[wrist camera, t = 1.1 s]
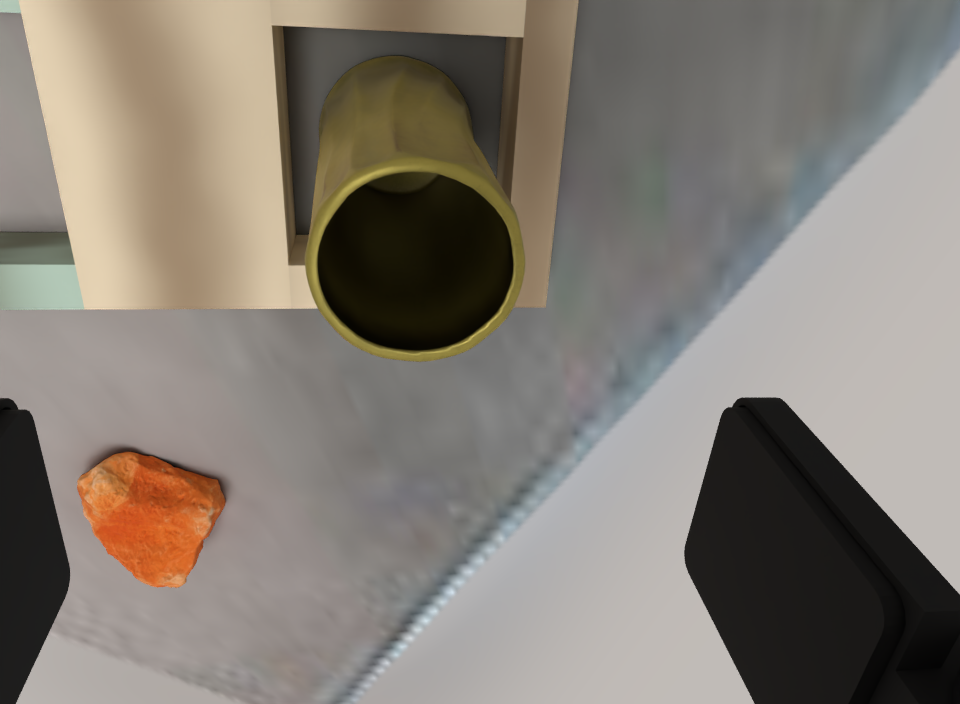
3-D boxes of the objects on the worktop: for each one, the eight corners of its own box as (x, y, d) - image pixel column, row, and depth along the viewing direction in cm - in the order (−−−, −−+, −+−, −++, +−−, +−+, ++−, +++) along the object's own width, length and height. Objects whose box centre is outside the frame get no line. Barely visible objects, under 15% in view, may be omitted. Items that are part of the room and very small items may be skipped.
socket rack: (557, -22, 28) (580, -18, 25) (529, 274, 34) (545, 307, 30) (-289, -73, 24) (-385, -77, 21) (-160, 273, 30) (-220, 310, 26)
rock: (80, 341, 33) (44, 391, 29) (328, 446, 37) (324, 500, 34) (-6, 528, 37) (-47, 592, 33) (227, 602, 41) (213, 666, 38)
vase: (480, 196, 32) (554, 357, 19) (338, 220, 31) (318, 399, 19) (460, 43, 29) (531, 115, 16) (302, 68, 28) (251, 161, 16)
